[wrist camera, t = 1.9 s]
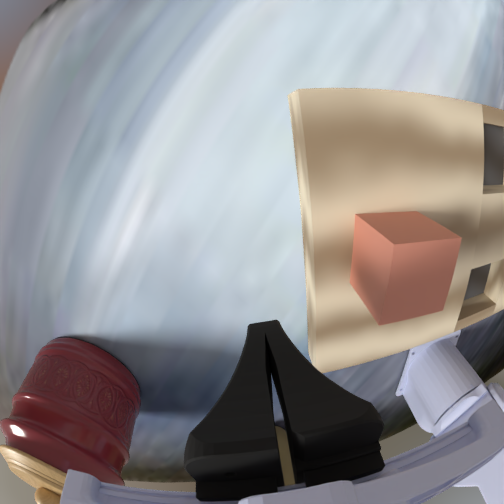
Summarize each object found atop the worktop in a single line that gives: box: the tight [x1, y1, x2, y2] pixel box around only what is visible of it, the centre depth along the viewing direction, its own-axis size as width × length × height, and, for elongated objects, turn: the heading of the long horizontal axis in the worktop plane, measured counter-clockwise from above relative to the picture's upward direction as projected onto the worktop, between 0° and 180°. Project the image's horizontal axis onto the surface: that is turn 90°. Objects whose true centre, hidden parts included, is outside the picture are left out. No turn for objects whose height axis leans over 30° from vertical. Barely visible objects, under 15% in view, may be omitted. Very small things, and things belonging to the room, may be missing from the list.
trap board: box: [288, 88, 504, 373], centre depth 19 cm, size 22×37×4 cm, turn 98°
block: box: [349, 211, 462, 326], centre depth 16 cm, size 5×5×5 cm
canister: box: [0, 338, 141, 504], centre depth 18 cm, size 13×13×18 cm
